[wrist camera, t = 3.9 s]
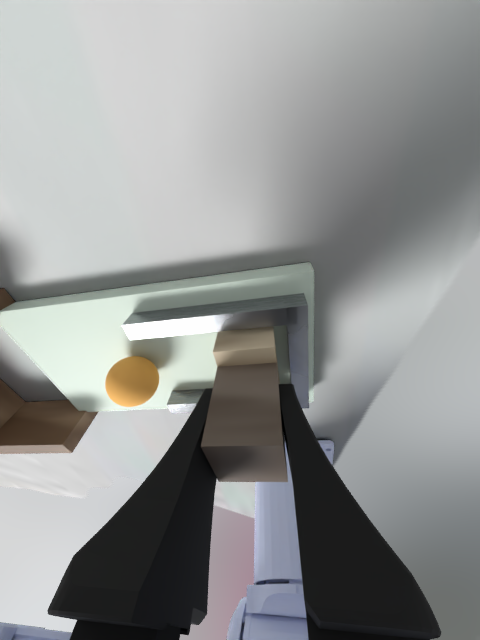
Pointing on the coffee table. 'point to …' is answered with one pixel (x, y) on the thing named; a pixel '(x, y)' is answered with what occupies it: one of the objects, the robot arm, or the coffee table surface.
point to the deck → (164, 352)
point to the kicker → (245, 409)
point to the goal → (38, 419)
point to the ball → (132, 381)
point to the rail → (228, 318)
